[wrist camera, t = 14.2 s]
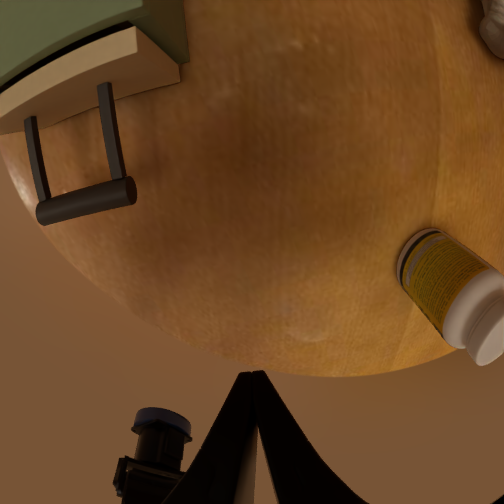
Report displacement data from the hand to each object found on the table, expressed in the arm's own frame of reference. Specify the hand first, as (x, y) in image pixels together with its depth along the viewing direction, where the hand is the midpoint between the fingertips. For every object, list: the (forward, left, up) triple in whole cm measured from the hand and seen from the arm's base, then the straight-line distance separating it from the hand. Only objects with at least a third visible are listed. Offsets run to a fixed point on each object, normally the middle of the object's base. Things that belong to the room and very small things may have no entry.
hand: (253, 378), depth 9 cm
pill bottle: (+11, -11, -12) cm, 20 cm away
